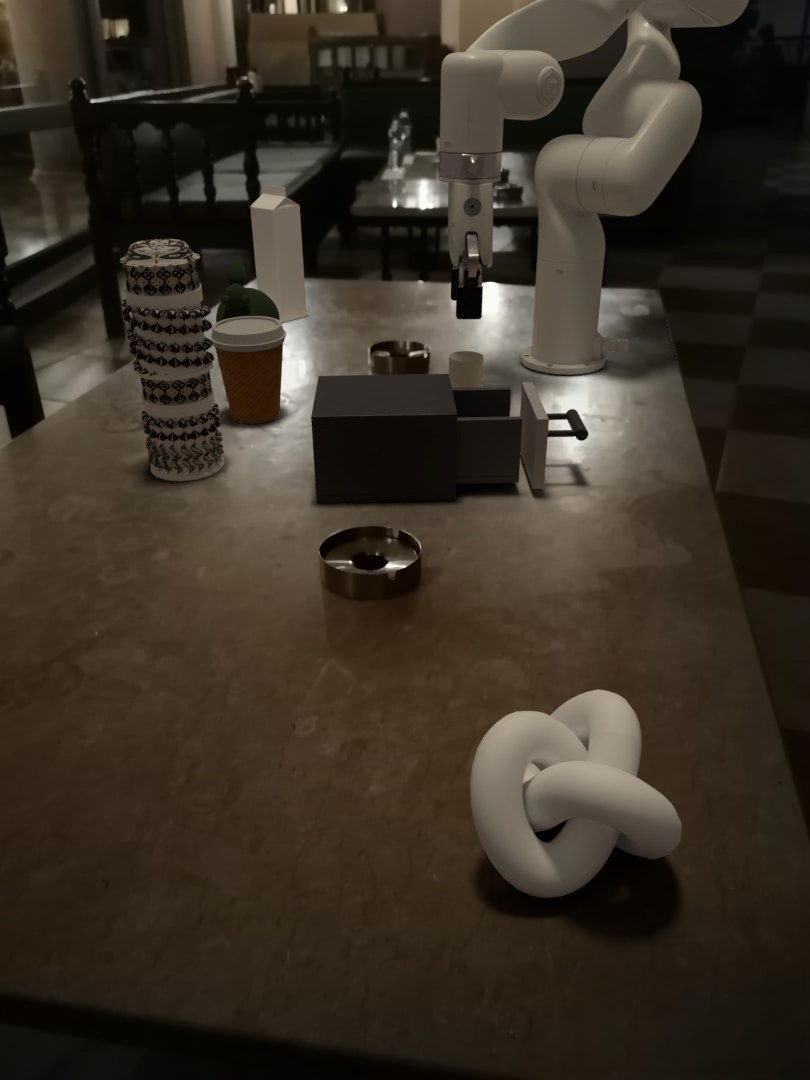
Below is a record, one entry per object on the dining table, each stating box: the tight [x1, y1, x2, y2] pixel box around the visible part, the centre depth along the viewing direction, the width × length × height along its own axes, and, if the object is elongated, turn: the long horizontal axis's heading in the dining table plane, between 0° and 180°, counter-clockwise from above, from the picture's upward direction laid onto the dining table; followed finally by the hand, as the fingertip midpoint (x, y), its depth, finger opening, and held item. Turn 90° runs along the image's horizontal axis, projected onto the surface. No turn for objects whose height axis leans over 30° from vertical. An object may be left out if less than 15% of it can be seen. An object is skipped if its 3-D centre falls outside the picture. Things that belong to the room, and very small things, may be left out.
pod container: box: [448, 350, 484, 388], centre depth 122 cm, size 5×5×6 cm
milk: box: [249, 184, 307, 324], centre depth 157 cm, size 6×6×22 cm
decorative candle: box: [119, 238, 225, 482], centre depth 99 cm, size 9×9×25 cm
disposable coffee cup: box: [209, 316, 287, 425], centre depth 116 cm, size 10×10×12 cm
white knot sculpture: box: [469, 688, 682, 899], centre depth 53 cm, size 11×12×9 cm
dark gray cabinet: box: [310, 373, 457, 504], centre depth 99 cm, size 15×13×10 cm
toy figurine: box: [215, 259, 280, 323], centre depth 131 cm, size 9×19×25 cm
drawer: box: [452, 381, 589, 490], centre depth 100 cm, size 18×12×8 cm, turn 91°
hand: (465, 309), depth 118 cm, fingers open, 9 cm apart
